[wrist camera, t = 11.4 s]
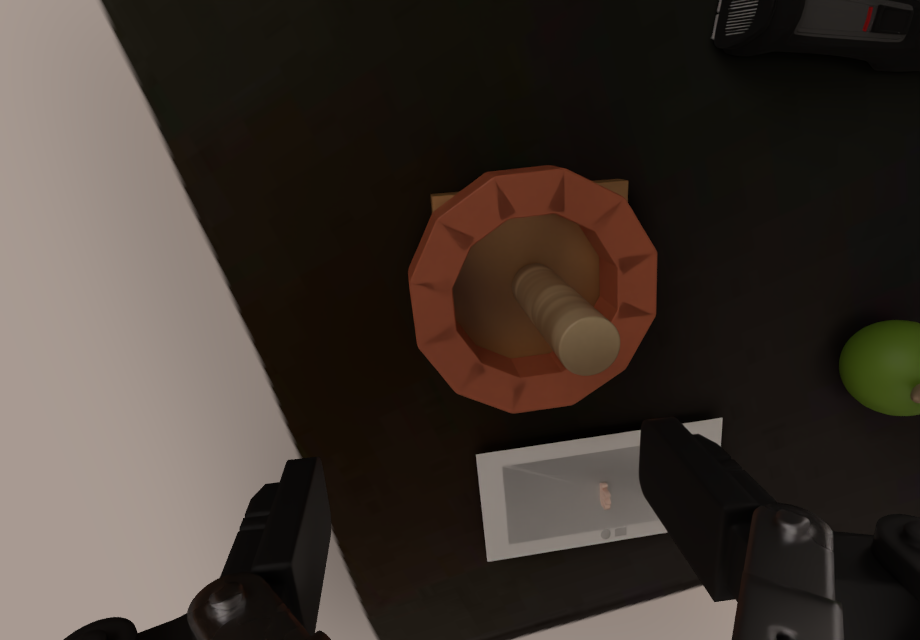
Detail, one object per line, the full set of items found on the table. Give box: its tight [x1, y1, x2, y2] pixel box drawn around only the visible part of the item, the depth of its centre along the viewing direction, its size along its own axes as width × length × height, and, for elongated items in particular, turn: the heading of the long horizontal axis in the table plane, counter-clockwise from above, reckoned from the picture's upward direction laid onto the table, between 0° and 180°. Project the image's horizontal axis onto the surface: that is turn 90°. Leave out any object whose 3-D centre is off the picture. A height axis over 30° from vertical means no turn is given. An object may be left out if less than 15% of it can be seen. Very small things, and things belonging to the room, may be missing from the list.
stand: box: [430, 179, 628, 376], centre depth 25 cm, size 10×10×10 cm
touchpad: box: [476, 418, 722, 562], centre depth 34 cm, size 8×15×2 cm, turn 96°
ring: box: [408, 165, 657, 413], centre depth 28 cm, size 12×12×3 cm
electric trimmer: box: [711, 0, 920, 72], centre depth 27 cm, size 4×16×3 cm, turn 85°
